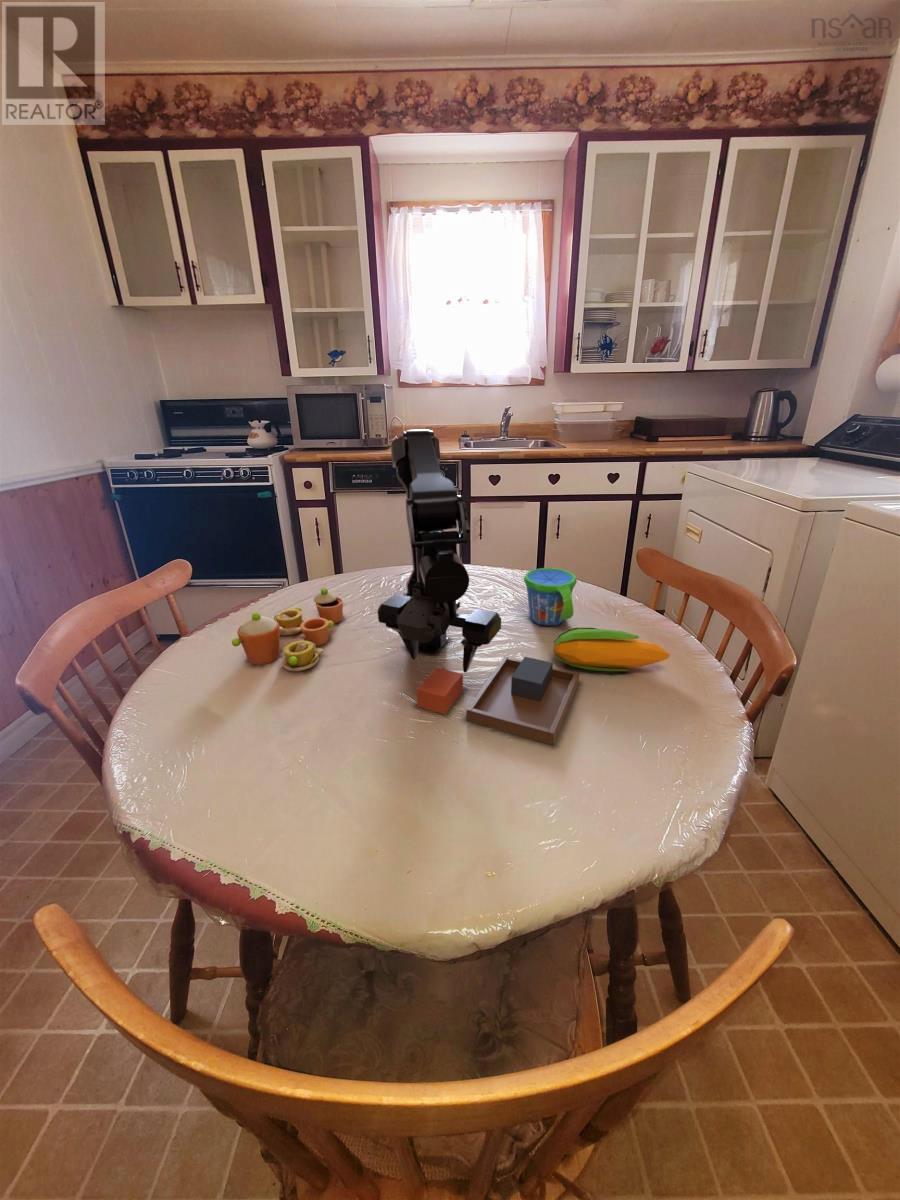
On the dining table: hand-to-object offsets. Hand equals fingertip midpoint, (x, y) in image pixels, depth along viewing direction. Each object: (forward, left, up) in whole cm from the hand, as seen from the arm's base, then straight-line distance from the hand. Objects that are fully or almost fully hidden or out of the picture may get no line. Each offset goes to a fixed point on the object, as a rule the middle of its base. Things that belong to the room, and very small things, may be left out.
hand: (439, 664), depth 78 cm
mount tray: (+13, +5, -6) cm, 15 cm away
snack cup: (+9, +35, -7) cm, 37 cm away
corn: (+24, +21, -7) cm, 32 cm away
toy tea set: (-35, +6, -7) cm, 37 cm away
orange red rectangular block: (0, 0, -6) cm, 7 cm away
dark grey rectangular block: (+13, +8, -6) cm, 17 cm away
